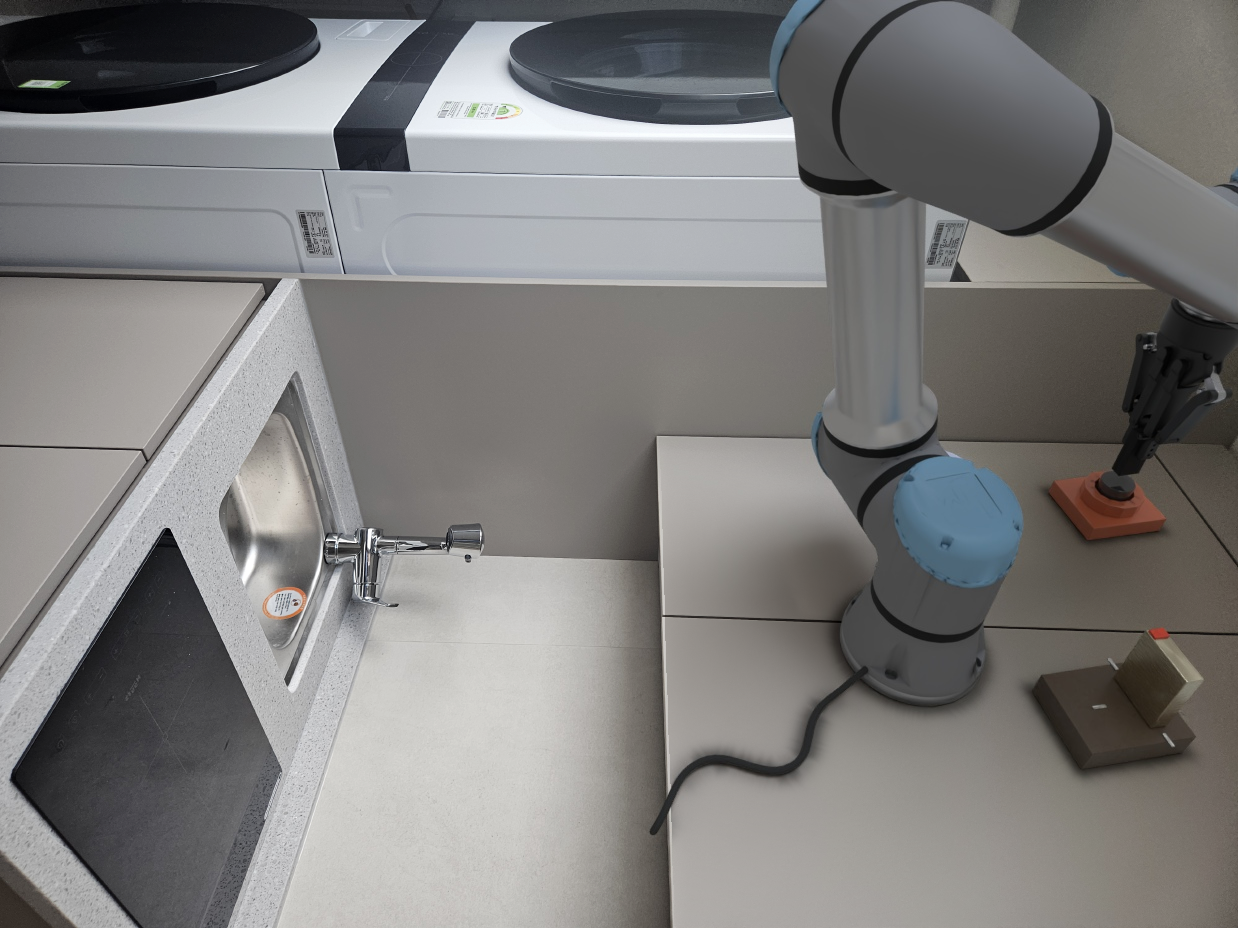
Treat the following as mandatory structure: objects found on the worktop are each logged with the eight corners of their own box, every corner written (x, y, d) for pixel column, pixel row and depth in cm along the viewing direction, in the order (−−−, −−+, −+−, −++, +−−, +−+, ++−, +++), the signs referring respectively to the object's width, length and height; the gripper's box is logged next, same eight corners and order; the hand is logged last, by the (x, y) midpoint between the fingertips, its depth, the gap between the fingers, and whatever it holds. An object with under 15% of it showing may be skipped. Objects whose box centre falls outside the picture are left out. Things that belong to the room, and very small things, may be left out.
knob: (1167, 725, 79) (1206, 678, 74) (1150, 728, 79) (1188, 680, 73) (1129, 674, 84) (1163, 625, 78) (1113, 676, 83) (1146, 628, 78)
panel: (1084, 775, 79) (1096, 758, 77) (1028, 685, 86) (1038, 668, 84) (1206, 754, 80) (1221, 738, 78) (1141, 668, 88) (1153, 651, 86)
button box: (1087, 540, 102) (1099, 518, 99) (1048, 492, 109) (1058, 470, 106) (1159, 530, 103) (1173, 508, 100) (1116, 483, 110) (1128, 461, 107)
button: (1108, 503, 102) (1113, 493, 100) (1089, 482, 105) (1094, 472, 103) (1137, 500, 102) (1143, 489, 101) (1117, 479, 105) (1123, 469, 104)
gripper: (1292, 335, 81) (1187, 502, 97) (1202, 273, 91) (1120, 435, 106) (1224, 342, 80) (1129, 510, 96) (1141, 279, 90) (1067, 441, 105)
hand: (1124, 470), depth 101 cm, fingers closed
